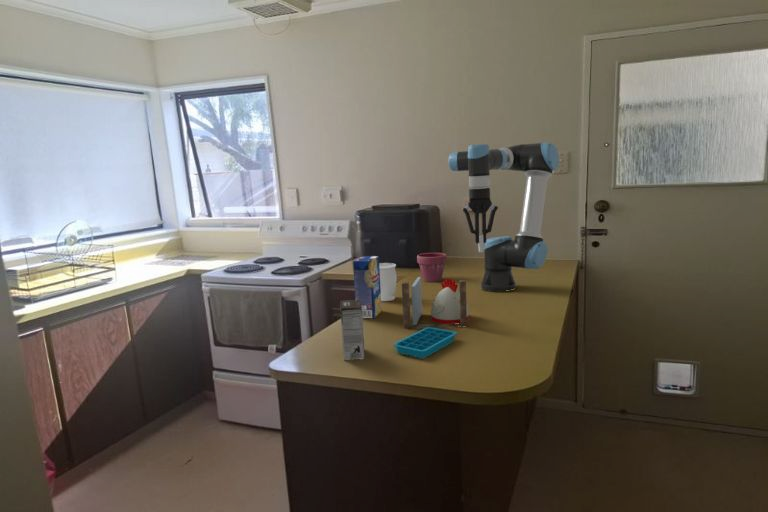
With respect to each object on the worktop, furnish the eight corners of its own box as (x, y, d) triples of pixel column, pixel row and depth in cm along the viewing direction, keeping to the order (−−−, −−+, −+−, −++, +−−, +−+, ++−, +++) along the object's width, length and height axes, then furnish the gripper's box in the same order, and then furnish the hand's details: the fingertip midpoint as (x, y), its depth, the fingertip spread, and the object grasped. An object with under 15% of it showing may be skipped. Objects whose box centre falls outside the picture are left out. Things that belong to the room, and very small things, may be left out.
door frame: (465, 323, 179) (465, 279, 176) (467, 327, 175) (466, 282, 172) (403, 325, 180) (402, 281, 178) (403, 328, 177) (401, 284, 174)
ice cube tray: (391, 354, 154) (391, 344, 154) (428, 335, 170) (427, 326, 169) (424, 361, 147) (423, 351, 146) (458, 341, 163) (458, 332, 162)
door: (414, 312, 194) (413, 277, 191) (422, 313, 193) (420, 277, 191) (408, 324, 179) (406, 286, 177) (416, 325, 179) (414, 286, 176)
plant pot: (439, 275, 259) (438, 251, 257) (451, 281, 246) (451, 255, 244) (413, 279, 255) (412, 254, 253) (424, 284, 242) (423, 258, 239)
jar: (395, 302, 212) (393, 267, 209) (371, 302, 214) (369, 267, 212) (399, 296, 222) (398, 262, 220) (376, 296, 224) (374, 262, 222)
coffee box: (343, 350, 158) (340, 300, 156) (363, 348, 159) (360, 298, 156) (343, 361, 149) (339, 308, 147) (365, 359, 150) (362, 306, 147)
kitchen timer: (448, 326, 177) (446, 285, 174) (423, 318, 188) (422, 278, 185) (477, 318, 184) (476, 278, 182) (451, 311, 196) (450, 273, 193)
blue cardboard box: (381, 310, 200) (378, 256, 197) (373, 319, 190) (370, 261, 186) (365, 310, 202) (362, 256, 198) (356, 318, 192) (352, 261, 188)
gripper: (495, 186, 187) (496, 248, 192) (460, 188, 188) (462, 250, 192) (499, 187, 180) (500, 252, 184) (462, 189, 180) (464, 254, 185)
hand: (481, 251), depth 188 cm, fingers closed
